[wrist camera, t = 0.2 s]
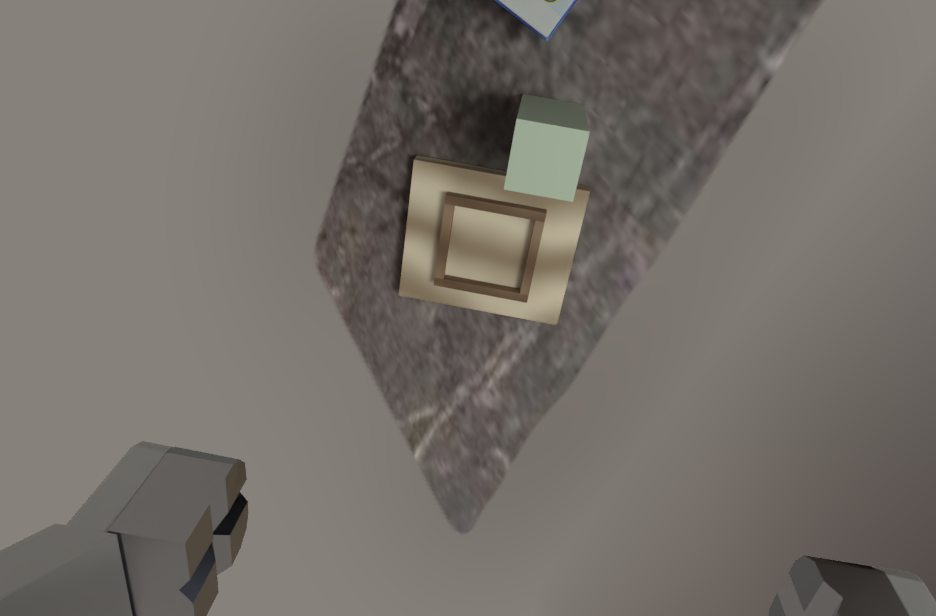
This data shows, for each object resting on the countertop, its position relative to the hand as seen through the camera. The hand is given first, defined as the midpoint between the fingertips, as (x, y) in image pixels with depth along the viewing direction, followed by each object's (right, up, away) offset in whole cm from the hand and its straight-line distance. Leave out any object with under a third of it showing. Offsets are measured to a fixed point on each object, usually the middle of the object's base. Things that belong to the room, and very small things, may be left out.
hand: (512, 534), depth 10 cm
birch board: (+1, +9, +49) cm, 50 cm away
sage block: (+6, +18, +44) cm, 48 cm away
